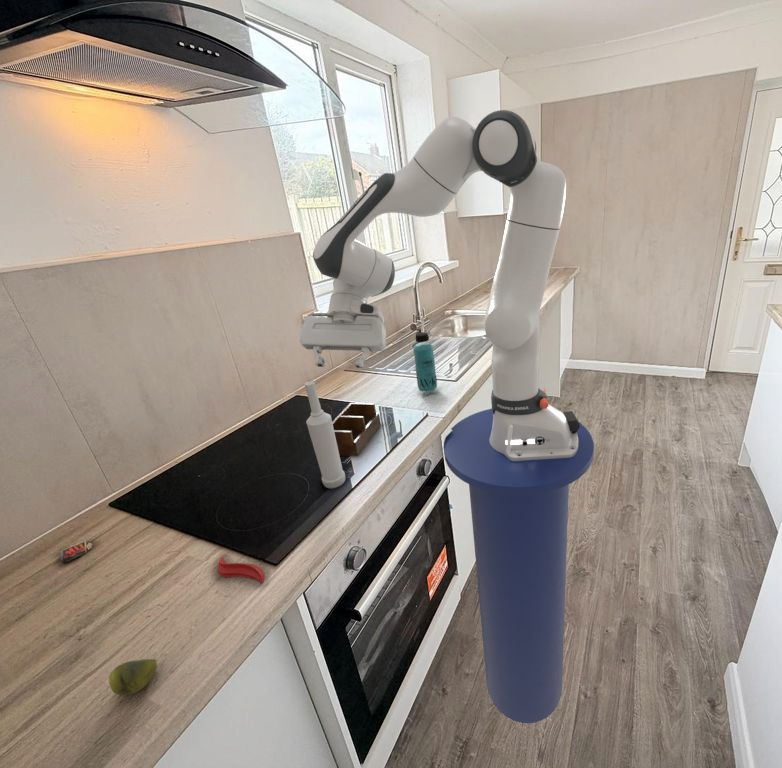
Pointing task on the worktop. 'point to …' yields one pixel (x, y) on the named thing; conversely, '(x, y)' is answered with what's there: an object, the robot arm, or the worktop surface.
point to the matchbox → (74, 551)
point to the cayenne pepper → (240, 570)
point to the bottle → (324, 441)
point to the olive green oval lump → (132, 676)
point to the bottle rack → (355, 427)
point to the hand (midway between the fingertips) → (339, 366)
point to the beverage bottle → (425, 363)
